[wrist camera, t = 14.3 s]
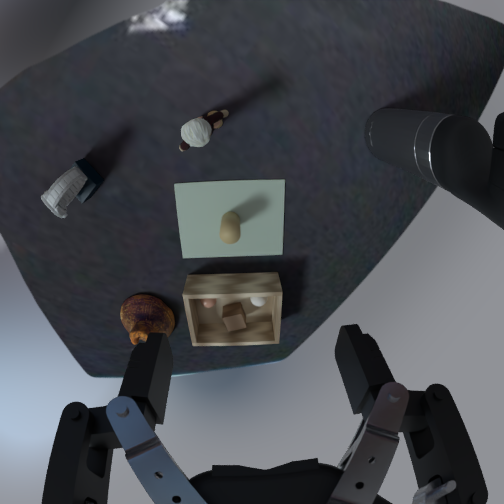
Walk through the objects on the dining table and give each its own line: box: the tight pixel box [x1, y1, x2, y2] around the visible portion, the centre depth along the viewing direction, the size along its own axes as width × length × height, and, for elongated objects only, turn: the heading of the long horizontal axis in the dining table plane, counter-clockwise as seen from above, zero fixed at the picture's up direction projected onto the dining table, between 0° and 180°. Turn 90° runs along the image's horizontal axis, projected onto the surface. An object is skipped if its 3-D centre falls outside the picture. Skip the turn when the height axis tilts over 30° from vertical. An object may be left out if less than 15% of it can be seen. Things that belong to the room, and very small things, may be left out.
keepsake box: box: [183, 272, 283, 346], centre depth 49 cm, size 16×12×6 cm
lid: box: [174, 179, 285, 258], centre depth 42 cm, size 17×13×6 cm
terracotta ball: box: [200, 298, 217, 308], centre depth 49 cm, size 3×3×3 cm
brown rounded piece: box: [120, 294, 175, 344], centre depth 50 cm, size 12×12×7 cm
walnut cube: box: [222, 302, 247, 332], centre depth 51 cm, size 4×4×4 cm
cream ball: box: [250, 297, 267, 306], centre depth 49 cm, size 3×3×3 cm
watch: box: [41, 158, 104, 218], centre depth 35 cm, size 6×8×11 cm
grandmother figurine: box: [179, 110, 229, 151], centre depth 32 cm, size 8×4×13 cm, turn 139°
